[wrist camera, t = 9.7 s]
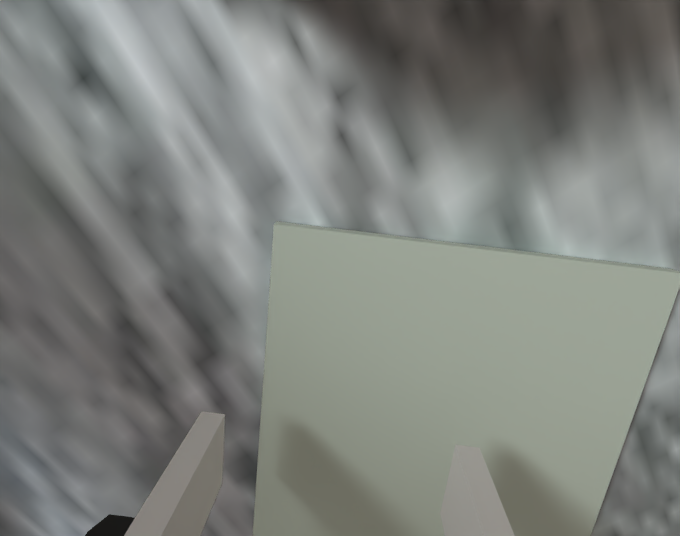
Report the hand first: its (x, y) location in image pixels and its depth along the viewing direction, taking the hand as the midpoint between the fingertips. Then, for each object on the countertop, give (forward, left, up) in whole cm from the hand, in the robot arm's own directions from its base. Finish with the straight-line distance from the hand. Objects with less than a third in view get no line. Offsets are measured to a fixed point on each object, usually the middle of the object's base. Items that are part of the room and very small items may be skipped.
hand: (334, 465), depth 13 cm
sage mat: (+4, 0, -4) cm, 5 cm away
